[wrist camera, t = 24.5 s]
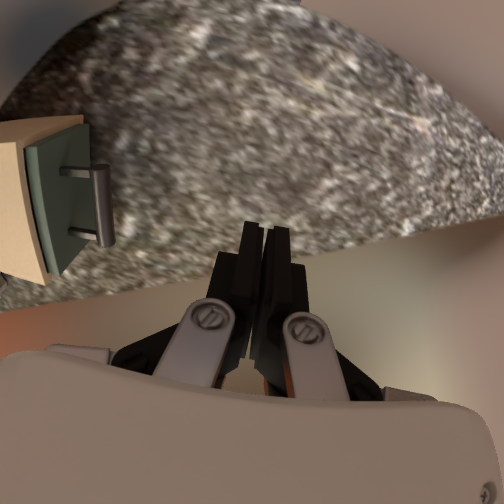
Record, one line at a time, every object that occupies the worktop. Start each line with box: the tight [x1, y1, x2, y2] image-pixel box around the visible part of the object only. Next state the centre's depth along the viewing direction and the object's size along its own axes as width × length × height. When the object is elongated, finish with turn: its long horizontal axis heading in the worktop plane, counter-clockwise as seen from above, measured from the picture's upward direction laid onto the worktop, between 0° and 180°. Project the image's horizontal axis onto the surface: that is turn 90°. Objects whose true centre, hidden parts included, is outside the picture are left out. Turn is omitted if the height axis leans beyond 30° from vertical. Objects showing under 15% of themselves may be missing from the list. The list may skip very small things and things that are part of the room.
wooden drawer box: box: [0, 115, 83, 285], centre depth 20 cm, size 13×11×8 cm
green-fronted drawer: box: [23, 124, 116, 276], centre depth 20 cm, size 17×10×7 cm, turn 82°
